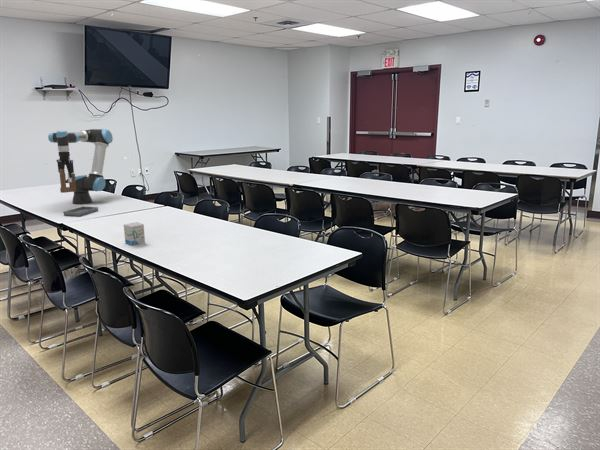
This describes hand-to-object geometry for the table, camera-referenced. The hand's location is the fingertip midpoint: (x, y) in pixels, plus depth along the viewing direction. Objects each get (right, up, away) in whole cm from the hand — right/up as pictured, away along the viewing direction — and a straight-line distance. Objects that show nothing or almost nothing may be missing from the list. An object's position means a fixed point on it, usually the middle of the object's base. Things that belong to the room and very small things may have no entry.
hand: (67, 181), depth 354 cm
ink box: (+82, -44, -81) cm, 123 cm away
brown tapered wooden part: (0, -8, +2) cm, 8 cm away
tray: (+12, -24, -2) cm, 27 cm away
